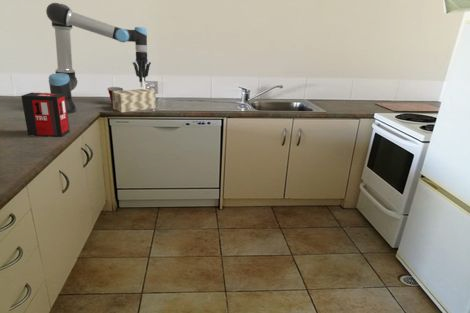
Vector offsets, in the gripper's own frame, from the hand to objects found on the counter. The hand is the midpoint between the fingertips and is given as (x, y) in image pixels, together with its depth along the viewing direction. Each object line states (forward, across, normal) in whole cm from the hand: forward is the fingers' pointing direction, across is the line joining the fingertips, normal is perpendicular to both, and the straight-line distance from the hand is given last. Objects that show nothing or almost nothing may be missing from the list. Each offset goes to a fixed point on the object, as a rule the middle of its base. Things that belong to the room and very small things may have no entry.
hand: (142, 86), depth 233 cm
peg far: (+12, 0, 0) cm, 12 cm away
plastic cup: (+15, -12, +18) cm, 26 cm away
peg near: (+12, -14, 0) cm, 18 cm away
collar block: (+15, -6, 0) cm, 16 cm away
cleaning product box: (+16, -71, -31) cm, 79 cm away
